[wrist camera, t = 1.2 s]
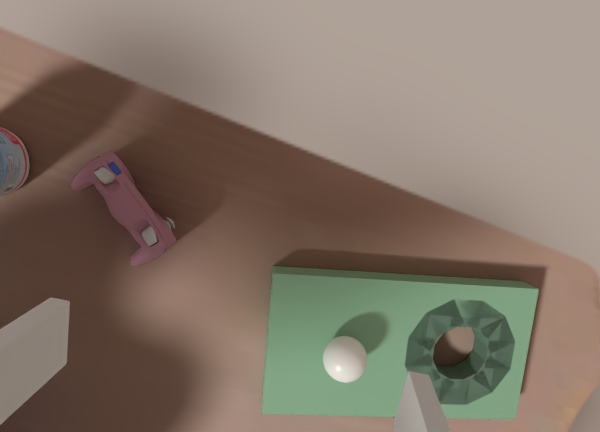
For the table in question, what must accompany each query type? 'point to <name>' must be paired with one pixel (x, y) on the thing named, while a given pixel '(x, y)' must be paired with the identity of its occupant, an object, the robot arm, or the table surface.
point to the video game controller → (127, 206)
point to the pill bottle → (12, 162)
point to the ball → (345, 359)
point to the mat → (394, 341)
